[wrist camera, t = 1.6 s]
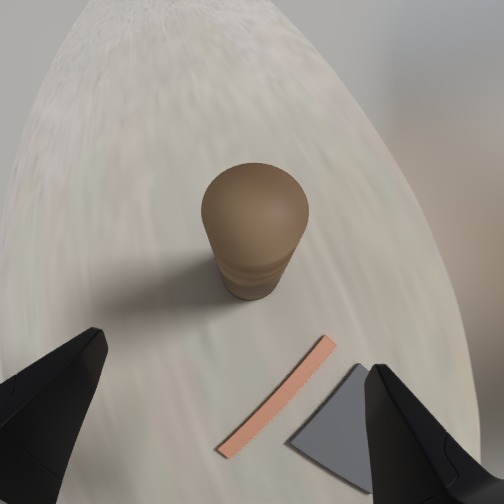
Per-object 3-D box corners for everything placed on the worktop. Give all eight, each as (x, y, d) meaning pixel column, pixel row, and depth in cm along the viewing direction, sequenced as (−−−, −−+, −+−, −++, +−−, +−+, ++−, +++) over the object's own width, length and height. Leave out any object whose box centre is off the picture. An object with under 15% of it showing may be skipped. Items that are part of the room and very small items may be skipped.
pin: (253, 312, 21) (260, 283, 11) (210, 273, 22) (179, 211, 12) (291, 269, 22) (329, 205, 12) (248, 233, 23) (251, 146, 13)
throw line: (229, 457, 18) (229, 459, 18) (217, 448, 18) (217, 449, 18) (336, 344, 21) (337, 344, 20) (324, 334, 21) (325, 334, 21)
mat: (372, 492, 16) (373, 494, 16) (289, 441, 18) (290, 442, 18) (430, 422, 18) (432, 423, 18) (357, 363, 20) (359, 363, 20)
